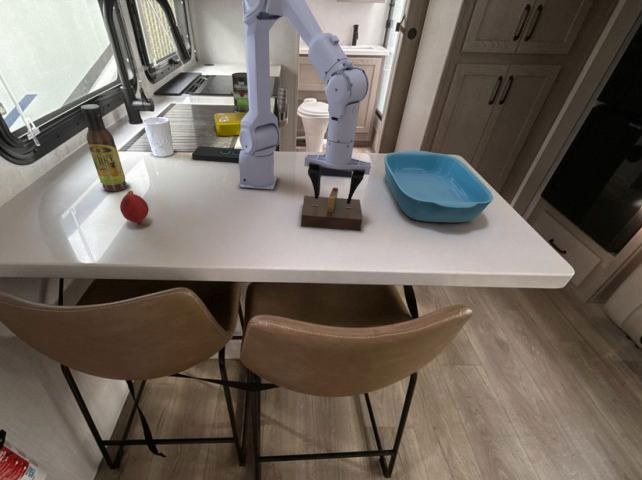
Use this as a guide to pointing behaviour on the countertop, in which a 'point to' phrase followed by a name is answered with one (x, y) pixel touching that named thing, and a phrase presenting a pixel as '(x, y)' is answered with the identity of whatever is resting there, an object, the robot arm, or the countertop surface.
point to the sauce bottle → (103, 150)
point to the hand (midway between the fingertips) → (332, 199)
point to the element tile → (228, 123)
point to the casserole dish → (435, 187)
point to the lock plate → (331, 214)
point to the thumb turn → (332, 199)
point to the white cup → (159, 136)
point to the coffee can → (240, 92)
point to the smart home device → (216, 154)
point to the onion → (134, 207)
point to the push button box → (335, 172)
